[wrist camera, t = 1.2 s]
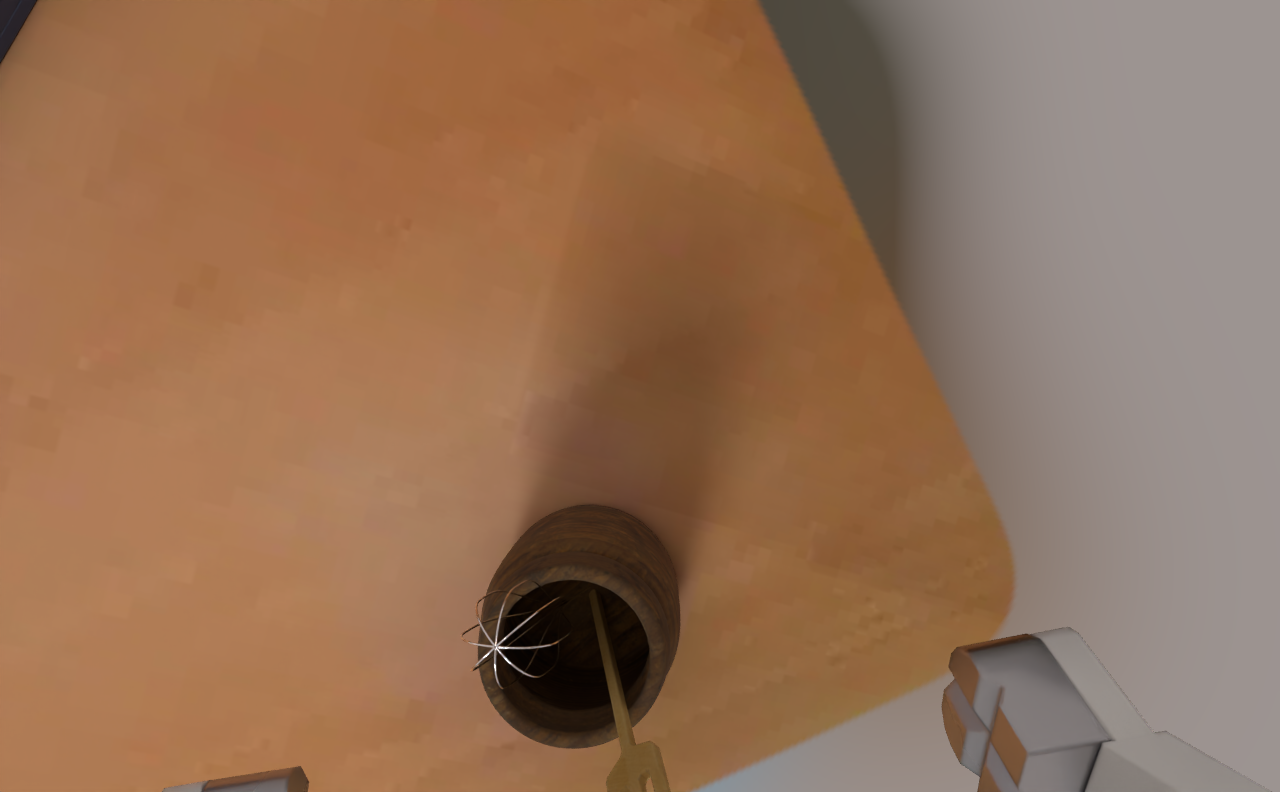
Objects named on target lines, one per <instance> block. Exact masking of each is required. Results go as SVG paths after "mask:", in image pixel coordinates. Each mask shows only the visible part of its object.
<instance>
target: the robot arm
mask: <svg viewBox="0 0 1280 792" xmlns="http://www.w3.org/2000/svg"><path fill="white" fill-rule="evenodd" d="M949 669H950V670H951V672H952V674H953V676H954V677H955V679H954V680H953V681H952V682H951V683H950V684H949V685H948V686H947V687H946V688H945V689H944V694H943V701H942V713H943V719H944V725H945V730H946V733H947V736H948V739H949V741H950V744H951V746H952V748H953V750H954V752H955V754H956V756H957V758H958V760H959V762H960V764H962V765H963V766H965V767H966V768H968V769H969V770H971V771H972V772H973V773H975V774H976V775H978V776H979V777H980V780H979V786H978V791H977V792H1272V791H1270V790H1268V789H1266V788H1265V787H1263V786H1261V785H1260V784H1258V783H1256V782H1254V781H1253V780H1251V779H1249V778H1247V777H1246V776H1244V775H1242V774H1240V773H1238V772H1237V771H1235V770H1233V769H1232V768H1230V767H1228V766H1226V765H1224V764H1223V763H1221V762H1219V761H1217V760H1216V759H1214V758H1212V757H1210V756H1209V755H1207V754H1205V753H1204V752H1202V751H1200V750H1198V749H1197V748H1195V747H1193V746H1191V745H1190V744H1188V743H1186V742H1184V741H1182V740H1181V739H1179V738H1177V737H1176V736H1174V735H1172V734H1170V733H1169V732H1167V731H1162V732H1155V733H1154V731H1153V730H1152V729H1151V727H1150V726H1149V725H1148V723H1147V722H1146V721H1145V719H1144V718H1143V717H1142V715H1141V714H1140V713H1139V712H1138V710H1137V709H1136V708H1135V706H1134V705H1133V704H1132V703H1131V701H1130V700H1129V699H1128V697H1127V696H1126V695H1125V693H1124V692H1123V691H1122V689H1121V688H1120V687H1119V685H1118V684H1117V683H1116V682H1115V680H1114V679H1113V678H1112V676H1111V675H1110V674H1109V672H1108V671H1107V670H1106V668H1105V667H1104V666H1103V664H1102V663H1101V662H1100V660H1099V659H1098V658H1097V657H1096V655H1095V654H1094V653H1093V652H1092V650H1091V649H1090V647H1089V646H1088V645H1087V644H1086V642H1085V641H1084V640H1083V638H1082V637H1081V636H1080V635H1079V633H1077V632H1076V631H1074V630H1073V629H1071V628H1059V629H1055V630H1050V631H1044V632H1039V633H1034V634H1030V635H1029V634H1022V635H1017V636H1012V637H1006V638H1001V639H996V640H991V641H986V642H981V643H976V644H971V645H966V646H960V647H957V648H956V649H955V650H954V651H953V652H952V653H951V657H950V662H949ZM308 787H309V781H308V779H307V777H306V775H305V773H304V771H303V769H302V768H301V766H298V767H292V768H285V769H279V770H273V771H266V772H260V773H254V774H248V775H241V776H235V777H229V778H222V779H216V780H208V781H202V782H197V783H191V784H185V785H180V786H174V787H168V788H164V789H163V791H162V792H308Z"/></svg>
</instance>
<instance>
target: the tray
mask: <svg viewBox="0 0 1280 792" xmlns="http://www.w3.org/2000/svg"><path fill="white" fill-rule="evenodd" d="M36 1H37V0H0V62H1V61H2V59H3V57H4V55H5V54H6V52H7V50H8V49H9V47H10V45H11V43H12V42H13V40H14V38H15V37H16V35H17V33H18V31H19V30H20V28H21V26H22V25H23V23H24V21H25V19H26V18H27V16H28V14H29V13H30V11H31V9H32V7H33V6H34V4H35V2H36Z"/></svg>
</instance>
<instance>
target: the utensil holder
mask: <svg viewBox="0 0 1280 792" xmlns="http://www.w3.org/2000/svg"><path fill="white" fill-rule="evenodd" d="M484 598H485V599H484ZM482 599H484V604H483V608H482V615H481V621H480V618H479V615H478V610H477V606H478V603H479V602H480V601H481V600H482ZM475 610H476V616H477V619H478V622H479V624H477V625H474V626H473V627H471V628H469V629H468V630H466V631H464V632H463V633H462V634H461V636H460V637H461V639H462V640H463V641H465V642H467V643H470V644H473V645H478V662H477V663H476V664H475V665H474V666H473V667H472V669H471V672H472V671H474V670H476V669H477V668H479V671H480V676H481V680H482V683H483V686H484V689H485V691H486V693H487V695H488V697H489V699H490V701H491V703H492V704H493V706H494V707H495V709H496V710H497V711H498V713H499V714H500V715H501V716H502V717H503V718H504V720H505V721H506V722H508V723H509V724H510V725H511V726H512V727H513V728H515V729H516V730H517V731H519V732H520V733H522V734H523V735H525V736H527V737H528V738H530V739H533V740H535V741H537V742H540V743H542V744H546V745H549V746H554V747H559V748H571V749H575V748H587V747H593V746H597V745H600V744H604V743H606V742H609V741H611V740H613V739H616V738H617V737H619V741H620V746H621V751H622V752H621V756H620V758H619V760H618V761H617V763H616V765H615V766H614V768H613V769H612V771H611V772H610V774H609V776H608V777H607V781H606V786H607V792H646V787H645V785H646V783H647V781H648V780H649V779H650V778H651V780H652V783H653V787H654V791H655V792H671V791H670V787H669V783H668V779H667V775H666V771H665V767H664V763H663V760H662V756H661V752H660V749H659V747H657V746H656V745H655V744H654V743H653V742H651V741H647V742H644V743H641V744H638V745H636V743H635V739H634V735H633V731H632V727H634V726H635V725H636V724H637V723H638V722H639V721H640V720H641V719H642V718H643V717H644V716H645V715H646V713H647V712H648V711H649V709H650V708H651V706H652V705H653V703H654V702H655V700H656V698H657V696H658V694H659V692H660V690H661V688H662V686H663V683H664V681H665V678H666V675H667V674H668V672H669V670H670V668H671V665H672V663H673V660H674V657H675V654H676V650H677V646H678V641H679V633H680V605H679V594H678V586H677V580H676V576H675V572H674V568H673V566H672V563H671V560H670V558H669V556H668V554H667V552H666V550H665V548H664V547H663V545H662V544H661V542H660V541H659V540H658V538H657V537H656V536H655V535H654V534H653V533H652V531H651V530H649V529H648V528H647V527H646V526H645V525H644V524H643V523H641V522H640V521H638V520H637V519H635V518H634V517H632V516H630V515H628V514H626V513H624V512H622V511H619V510H616V509H613V508H609V507H604V506H596V505H583V506H575V507H570V508H566V509H563V510H560V511H557V512H555V513H552V514H550V515H548V516H546V517H545V518H543V519H541V520H540V521H538V522H537V523H535V524H534V525H533V526H532V527H531V528H529V529H528V530H527V531H526V532H525V533H524V534H523V535H522V536H521V537H520V539H519V540H518V541H517V542H516V543H515V545H514V546H513V547H512V549H511V550H510V551H509V553H508V554H507V556H506V557H505V558H504V560H503V561H502V563H501V565H500V566H499V568H498V569H497V571H496V573H495V575H494V577H493V579H492V581H491V583H490V585H489V588H488V590H487V593H486V595H485V596H483V597H482V598H480V599H479V600H478V601H477V602H476V606H475ZM479 625H480V626H481V627H480V633H479V641H478V643H474V642H471V641H468V640H466V639H464V638H463V637H462V636H463V635H464V634H465V633H466V632H468V631H470V630H471V629H473V628H475V627H477V626H479ZM478 664H479V666H477V665H478ZM476 666H477V667H476Z"/></svg>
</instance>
